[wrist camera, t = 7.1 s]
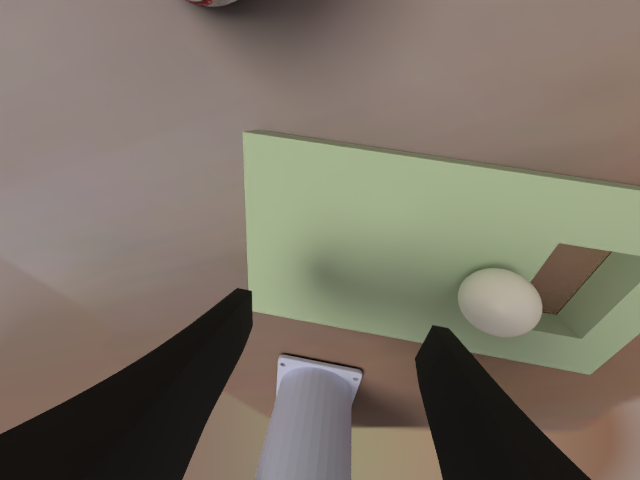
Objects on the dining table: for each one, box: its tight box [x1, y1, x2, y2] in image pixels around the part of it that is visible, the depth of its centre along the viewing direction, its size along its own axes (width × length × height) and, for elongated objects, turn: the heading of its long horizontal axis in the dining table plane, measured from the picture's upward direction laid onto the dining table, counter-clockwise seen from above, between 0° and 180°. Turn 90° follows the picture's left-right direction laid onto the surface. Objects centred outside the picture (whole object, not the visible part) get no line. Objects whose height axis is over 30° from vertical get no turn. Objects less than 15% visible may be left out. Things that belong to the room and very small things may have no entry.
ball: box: [458, 268, 542, 337], centre depth 12 cm, size 3×3×3 cm
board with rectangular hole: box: [243, 130, 640, 375], centre depth 12 cm, size 12×24×7 cm, turn 83°
